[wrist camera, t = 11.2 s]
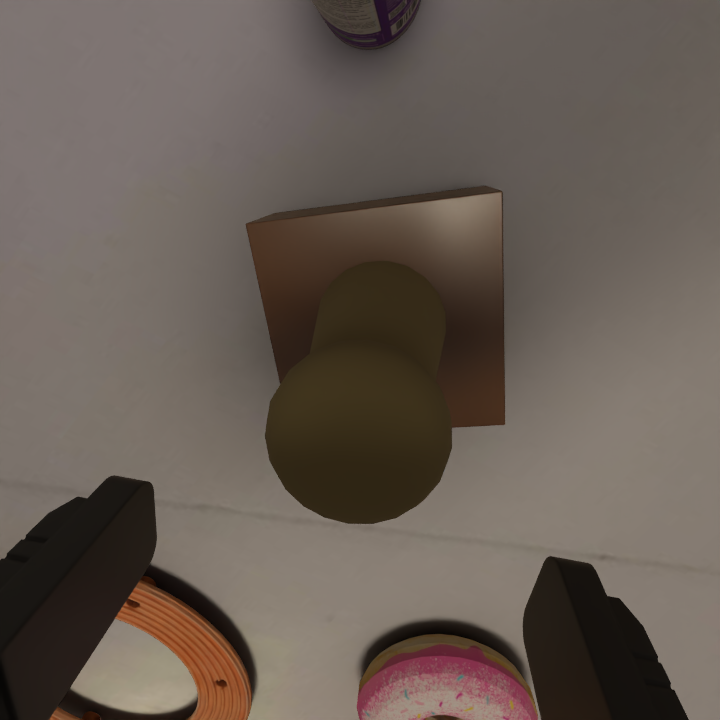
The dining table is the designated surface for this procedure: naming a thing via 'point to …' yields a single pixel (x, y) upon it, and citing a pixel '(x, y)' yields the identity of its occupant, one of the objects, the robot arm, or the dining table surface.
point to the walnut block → (407, 247)
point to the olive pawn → (365, 399)
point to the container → (368, 20)
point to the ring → (188, 653)
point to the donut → (443, 683)
